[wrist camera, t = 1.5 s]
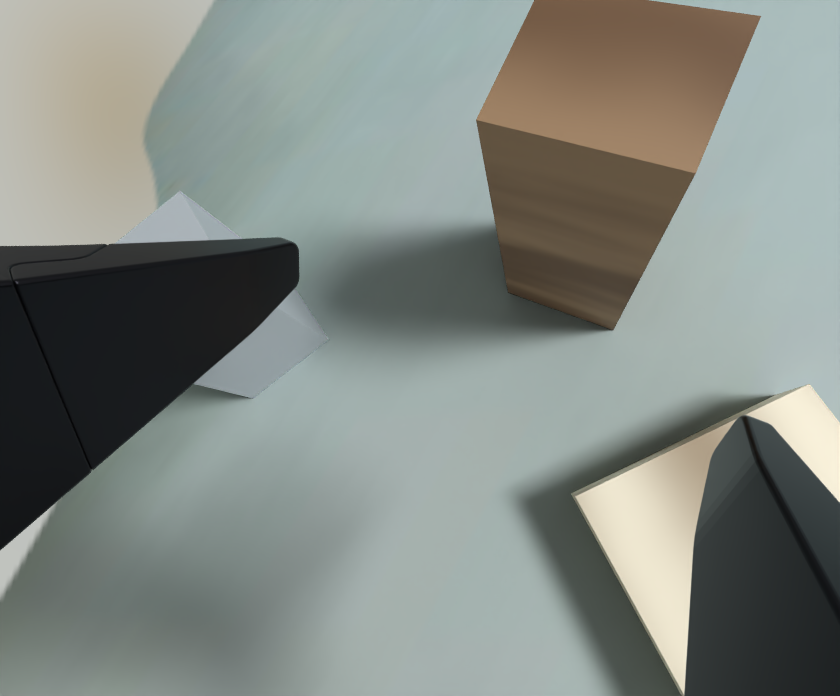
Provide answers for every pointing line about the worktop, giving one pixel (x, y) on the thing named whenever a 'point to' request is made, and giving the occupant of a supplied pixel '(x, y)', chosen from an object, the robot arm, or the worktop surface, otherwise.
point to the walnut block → (601, 141)
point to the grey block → (272, 341)
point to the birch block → (688, 512)
